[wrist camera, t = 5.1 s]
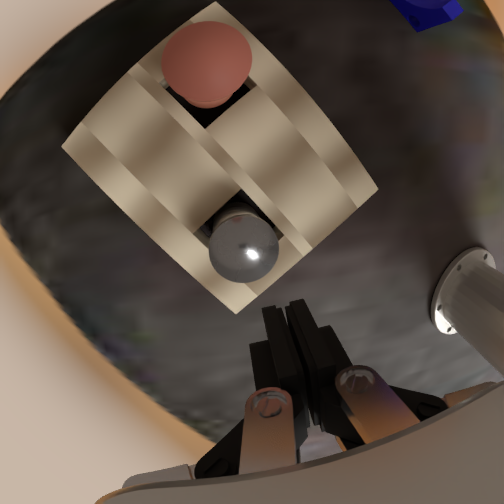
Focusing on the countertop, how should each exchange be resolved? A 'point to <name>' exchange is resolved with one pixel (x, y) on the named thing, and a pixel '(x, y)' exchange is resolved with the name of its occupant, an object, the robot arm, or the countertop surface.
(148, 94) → the board
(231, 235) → the grey plug
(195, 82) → the red plug
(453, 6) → the cable clip
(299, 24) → the countertop surface
